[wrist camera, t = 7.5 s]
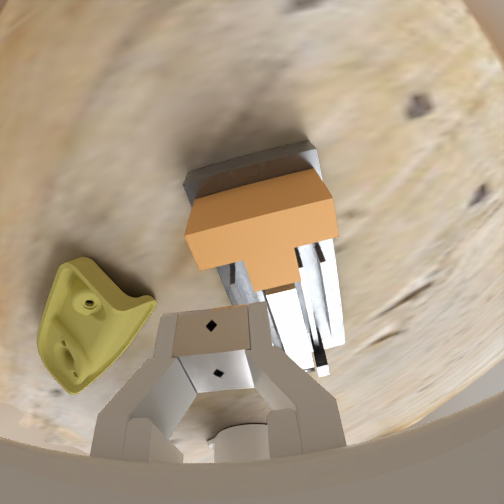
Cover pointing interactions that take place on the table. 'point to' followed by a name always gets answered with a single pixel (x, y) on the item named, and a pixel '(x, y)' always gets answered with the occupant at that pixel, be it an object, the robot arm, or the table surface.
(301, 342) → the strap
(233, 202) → the clip
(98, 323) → the plastic component
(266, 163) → the heatsink
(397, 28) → the table surface
